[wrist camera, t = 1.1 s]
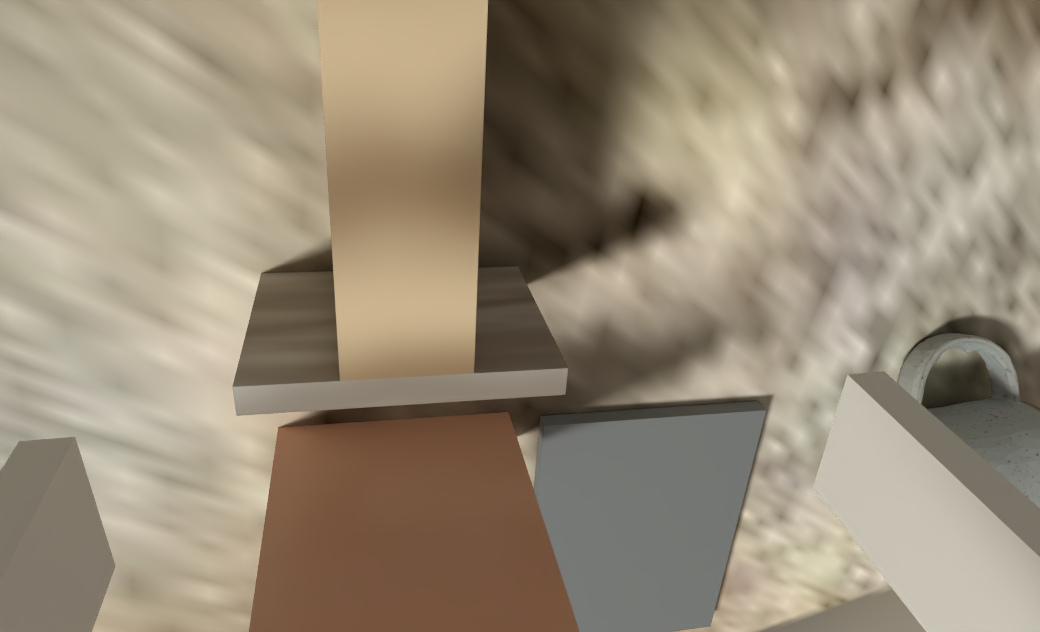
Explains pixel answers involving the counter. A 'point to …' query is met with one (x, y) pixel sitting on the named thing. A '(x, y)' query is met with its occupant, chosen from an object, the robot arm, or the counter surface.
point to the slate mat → (645, 509)
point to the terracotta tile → (406, 532)
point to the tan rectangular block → (399, 234)
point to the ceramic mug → (985, 410)
